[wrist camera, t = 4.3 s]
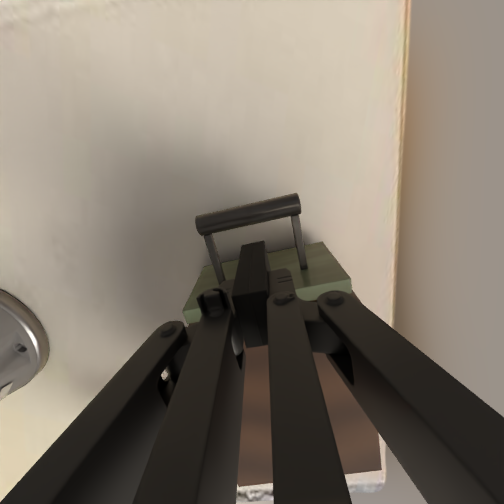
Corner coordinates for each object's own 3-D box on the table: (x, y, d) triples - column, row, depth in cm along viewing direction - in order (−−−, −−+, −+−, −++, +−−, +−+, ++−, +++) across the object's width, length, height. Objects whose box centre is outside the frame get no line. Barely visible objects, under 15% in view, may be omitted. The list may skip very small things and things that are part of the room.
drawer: (185, 209, 25) (152, 234, 17) (313, 179, 24) (341, 190, 16) (241, 381, 33) (236, 453, 25) (340, 366, 31) (368, 436, 23)
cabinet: (206, 281, 29) (180, 344, 19) (328, 256, 27) (367, 310, 18) (244, 395, 35) (238, 487, 25) (345, 379, 33) (381, 470, 24)
